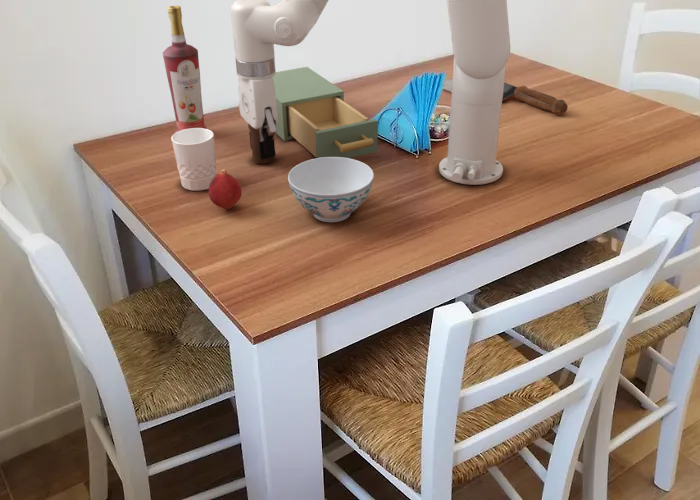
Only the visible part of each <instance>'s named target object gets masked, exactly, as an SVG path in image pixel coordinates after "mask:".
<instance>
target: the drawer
mask: <svg viewBox="0 0 700 500" xmlns="http://www.w3.org/2000/svg"><path fill="white" fill-rule="evenodd" d="M286 115H287V131H288V133H289V134H290V135H292V136H293V137H294V138H295V139H294V140H296V141H297V142H298V143H299V144H300V145H302V147H304V148H305V149H306V150H307V151H308V152H309V153H311V155H313V156H314V157H315V159H316V158H323V157H343V158H350V159H353V158H357V157H361V156H364V155H368V154H374V153H377V152H378V147H379V146H378V144H379V141H378V139H379V131H378V130H379V121H378V119H376V118H373V119H369V118H368V117H367V116H366V115H365V114H363V113H361V112H360V111H358V110H357V109H356V108H354V107H352V106H351V105H349V104H348V103H347V102H345V100H344V101H342V100H341V99H339V98H338V97H337V96H336V97H330V98H325V99H320V100H315V101H309V102H304V103H299V104H294V105H288V106H286Z"/></svg>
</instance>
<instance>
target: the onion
mask: <svg viewBox="0 0 700 500" xmlns="http://www.w3.org/2000/svg"><path fill="white" fill-rule="evenodd" d="M208 197H209V200H210V201H211V203H212V204H214V205H215V206H217V207H218V208H221V209H224V210H226V211H228V210H231V209H232V208H233V207H234V206H235V205H236V204H237V203H239V201H240V200H241V197H242V187H241V184H240V181H238V179H237V178H235V177H234V176H233V175H232V174H229V173H228V171H227V170H226V169H221V170H220V171H219V173H218V174H216V176H215V177H214V178H213V180H212V181H211V183H210V185H209V188H208Z"/></svg>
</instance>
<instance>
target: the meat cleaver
mask: <svg viewBox="0 0 700 500" xmlns="http://www.w3.org/2000/svg"><path fill="white" fill-rule="evenodd" d="M444 82H445V83H444ZM444 82H443V83H444V87H443V88H442V89H443V90H445V91H448V92H450V93H452V82H453V77H451V78H450V79H448V80H446V81H444ZM512 96H514V97H515V99H516V100H517V101H519V102H525V103H526V104H528V105H530V106H533V107H535V108H538V109H541V110H543V111H546V112H553V113H554V114H555V115H556V116H561V115H564V114H566V113H567V110H568V104H567V102H566V101H565V100H564V99H557V98H556V97H554V96H552V95H549V94H547V93H544V92H541V91H538V90H535V89H531V88H528V87H527V86H526V85H521V86H515V85H512V84H510V83H508V82H505V81H504V90H503V98H502V101H504V100H506V99H508V98H510V97H512Z"/></svg>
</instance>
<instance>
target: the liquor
mask: <svg viewBox="0 0 700 500" xmlns="http://www.w3.org/2000/svg"><path fill="white" fill-rule="evenodd" d="M166 9H167V15H168V19H169V23H170V32H171V34H170V35H171V45H169V46H168V47H167V48H165V49H164V51H162V56H163V62H164V68H165V72H166V78H167V82H168V87H169V91H170V96H171V101H172V106H173V112H174V117H175V123H176V129H175V133H176V132H178V131H181V130H184V129H190V128H204V129H208V128H207V126H206V124H205V119H204V109H203V98H202V85H201V84H202V83H201V70H200V60H199V50H198V49H197V48H196V47H194V46H193V45H191V44H188V43H187V39H186V36H185V35H186V34H185V31H184V26H183V19H182V18H183V17H182V16H183V14H182V7H181V6H180V5H169V6H167V8H166Z"/></svg>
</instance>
